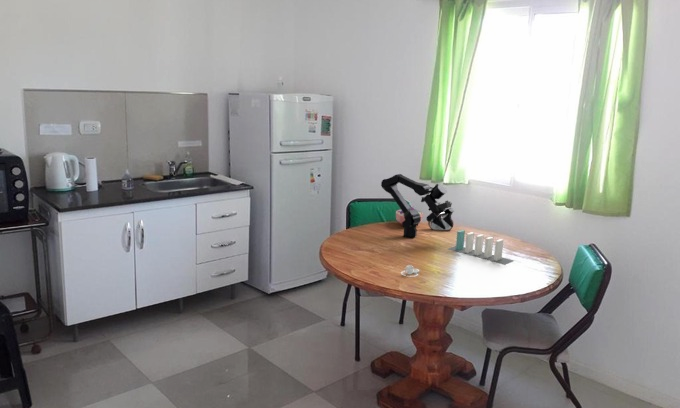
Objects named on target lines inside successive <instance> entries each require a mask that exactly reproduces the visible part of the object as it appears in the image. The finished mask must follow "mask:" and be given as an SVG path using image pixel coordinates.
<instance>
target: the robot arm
mask: <svg viewBox="0 0 680 408" xmlns="http://www.w3.org/2000/svg"><path fill="white" fill-rule="evenodd" d="M398 184H402V185H403V186H406V187H407V188H409V189H410V190H411V189H412V190H413V191H414V193H415V194H416V195H418V196H420V197H421V196H422V197H421V199H420V202H421V203H424V202H425V203H426V205H427V207H428V211H429V212H430V211H431V213H429V215H427V216H426V221H427V223H428V222H431V221H432V220H433V221H432V222H431V223H434V224H436V225H438V226H439V227H441V228H443V229H446V228H445V225H444V224H443V222H442V220H441V216H442V217H443V220H444V221H445V222H446V223H447V224H448V225H449V226H451V227H454V225H453V224H454V222H453V223H452V220H453V219H452V215H453V213H455V210H454V209H453V208H452V205H453V203H452V202H451V200H450V199H449V200H445V201H444V202H439V201H438V200H440V199H441V198H442V197H443V196H444V195H445V194H446V193H448V192H447V189H446V187H445V186H443V185H441V184H440V183H436V184H435V186H434V187H433V186H432V187H431V185H429V183H424V182H423V183H422V182H417V181H415V180H413V179H411V178H409V177H407V176H404V175H403V174H401V173H399V174H395V175H393V176H391V177H389V178H384V179H383V180H381V183H380V186H381V188H382V189H383V190H384V191H385V192H386V193H388V194H389V195H390V196H391V197H392V199H393V200H394V201H395V202H396V204H397V206H398V207H399V208H400V210H402V211H403V213H404V218H405V221H403V222H402V224H401V225H402V227H403V235H402V238H407V239H414V238H416V237H417V232H418V229H417V227H418V226H419V224H420V223H421V222H422V221H421V217H420V214H419V213H418V211H419V210H418V211H417V209H416V208H414V210H413V209H411V208H410V207H411V206H410V205H409V204H408V202H407V201H406V199H405V198H404V196H403V195H402V194H401V192H400V191H399V189H398ZM420 221H421V222H420Z"/></svg>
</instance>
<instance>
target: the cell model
mask: <svg viewBox="0 0 680 408" xmlns="http://www.w3.org/2000/svg"><path fill="white" fill-rule="evenodd" d="M410 208H411V209H413V210H414V209H415V208H414V207H413V206H410ZM416 210H417V209H416ZM417 211H418V213H419V214H420V217H421V221H420V223H421V222H422V221H423V217H424V216H423V215H424V213H423V212H422V211H421V210H417ZM395 218H396V222H398V223H399V224H400V225H402V222H403V221H405V218H404V213H403V211H402V210H401V209H398V210H396V211H395Z"/></svg>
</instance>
